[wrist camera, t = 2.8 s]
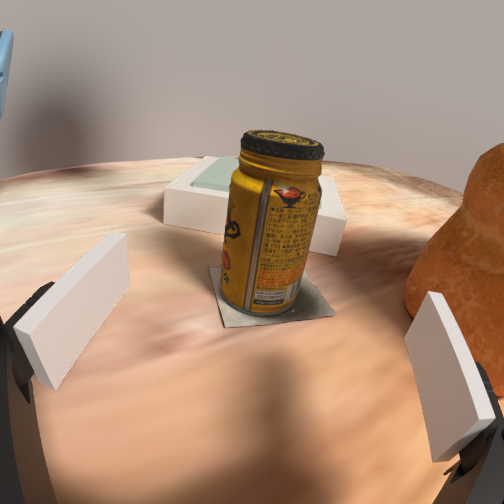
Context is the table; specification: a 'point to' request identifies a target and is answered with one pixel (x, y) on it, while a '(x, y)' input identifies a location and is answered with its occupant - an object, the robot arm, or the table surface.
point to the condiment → (271, 232)
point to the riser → (217, 194)
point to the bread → (471, 266)
